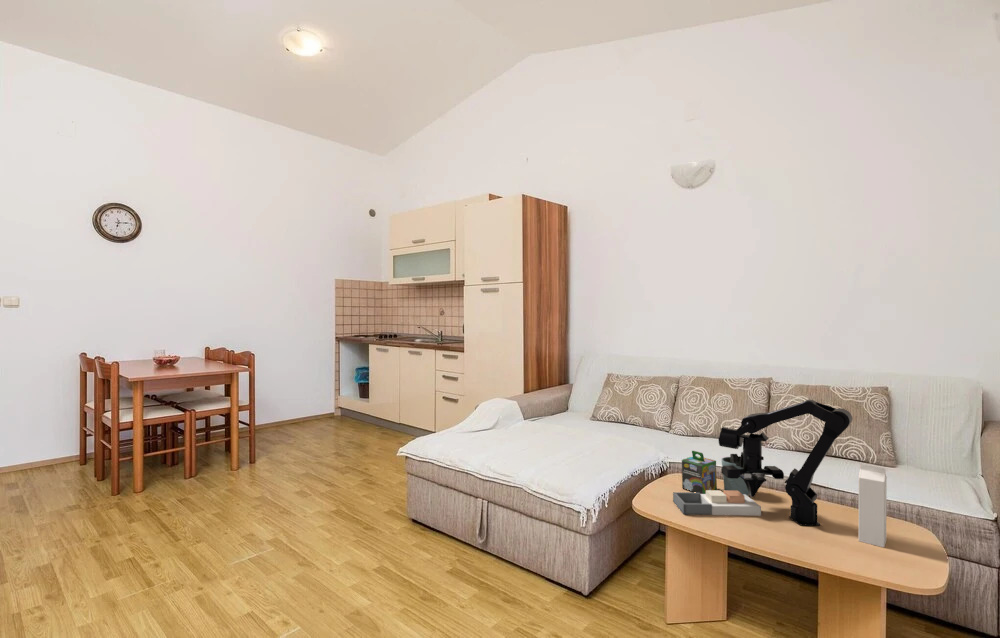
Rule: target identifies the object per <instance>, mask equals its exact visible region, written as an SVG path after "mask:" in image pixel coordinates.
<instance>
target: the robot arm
mask: <svg viewBox="0 0 1000 638" xmlns="http://www.w3.org/2000/svg"><path fill="white" fill-rule="evenodd" d="M807 414H808V415H811V416H812V417H815V418H816V419H818V420H819V421H821V422H824V426H823V430H822V433H821V434H820V436H819V439H818V440H817V441H816V443H815V445H814V447H813V448H812V450H811V452H810V453H809V455H808V456H807V458H806V460H805V461H804V462H803V464H802V466H801V468H799V470H798V469H797V468H793V469H792V471H790V473H789V475H788V478H787V479H786V480H785V481H784V484H785V486H784V490H785V492H786V494H787V495H788V496H789V497H790V498H791V505H790V515H788V517H789V518H790V519H791V520H792V521H793V522H795V523H796V524H797V525H799V526H818V527H819V526H821V522H819V521H818V503H817V502H815V501H816V500H817V498H818V494H817V493H816V492H815V490H813V488H812V487H811V486H812V482H813V479H814V475H815V473H816V471H817V470H818V468H819V466H820V465H821V464H822V462H823V461H824V458H825V457H826V456H827V453H828V452H829V451H830V449H831V448H832V446H833V444H834V442H835V441H836V440H837V438H838V437H840V436H841V435H842V434H843V432H844V431H845V430H847V428H848V427H849V426H850V425H851V424H852V422H853V416H852V413H850V411H849V410H847V409H845V408H843V407H842V408H840V407H839V408H838V407H837V408H836V407H833V406H831V405H827V404H824V403H821V402H818V401H816V400H813V399H806V400H804V401H801V402H800V403H799V402H798V403H795V404H791V405H789V406H785V407H782V408H779V409H776V410H772V411H767V412H758V413H750V414H749V415H746V416H745V417H743V418H742V419H741V421H740V426H739V427H738V428H737V429H735V428H730V427H729V428H728V427H726V426H722V427H721V428H720V433H719V437H718V446H720V447H721V448H727V449H735V450H739V448H741V447H742V451H741V452H740V455H738V453H730V455H729V457H730V461H731V463H736V466H740V467H742V468H743V469H737V468H736V467H734V466H723V467H722V466H721V471H720V473H721V474H722V476H723V475H725V476H726V477H727V478H736V479H738V478H739V477H741V478H742V479H743V480H744V482H745V484H746V486H747V489H748V492H749V496H750V497H749V498H755V496H756V495H757V493H758V491H759V490H760V488H761V486H762V485H763V483H764V482H767V481H768V480H767V478H765V476H772V478H773V479H775V480H784V479H785V473H784V471H783V470H782V469H780V468H779V467H778V466H777V465H776V466H775V465H765V466H764V467H762V465H763V464H762V462H763V461H764V456H762V454H763V453H762V451H763V449H762V447H763V445H762V444H763V443H762V442H767V441H768V440H770V439H769V437H768V436H767V435H766V434H765V433H764V432H761V433H759V434H758V433H757V432H759V431H762V430H763V429H765V428H767V427H769V426H771V425H772V424H773V425H774V424H776V423H780V422H784V421H787V420H790V419H795V418H798V417H801V416H803V415H804V416H805V415H807Z"/></svg>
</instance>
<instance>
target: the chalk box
mask: <svg viewBox="0 0 1000 638" xmlns="http://www.w3.org/2000/svg"><path fill="white" fill-rule="evenodd" d="M691 454H692V456H689V457H687V458H683V459H681V484H682V485H681V486H682V487H681V488H685V489H688V490H690V491H689V492H691V491H693V492H696V493H700V494H706V490H718V489H717V488H718V486H717V485H718V484H717V460H714V459H711V458H707V457H704V454H703V452H700V451H696V450H691ZM698 455H699V456H698ZM685 489H684V490H685ZM688 490H687V491H688Z"/></svg>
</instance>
